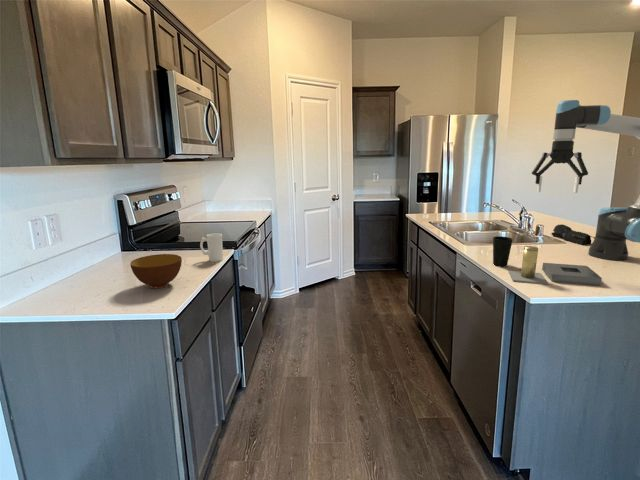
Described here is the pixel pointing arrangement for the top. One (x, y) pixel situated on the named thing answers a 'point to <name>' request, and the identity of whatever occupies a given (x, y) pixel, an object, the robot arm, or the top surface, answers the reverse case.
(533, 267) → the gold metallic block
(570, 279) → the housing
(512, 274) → the mat
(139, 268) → the bowl
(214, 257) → the mug
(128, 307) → the top surface
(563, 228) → the black flashlight
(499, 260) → the cup
